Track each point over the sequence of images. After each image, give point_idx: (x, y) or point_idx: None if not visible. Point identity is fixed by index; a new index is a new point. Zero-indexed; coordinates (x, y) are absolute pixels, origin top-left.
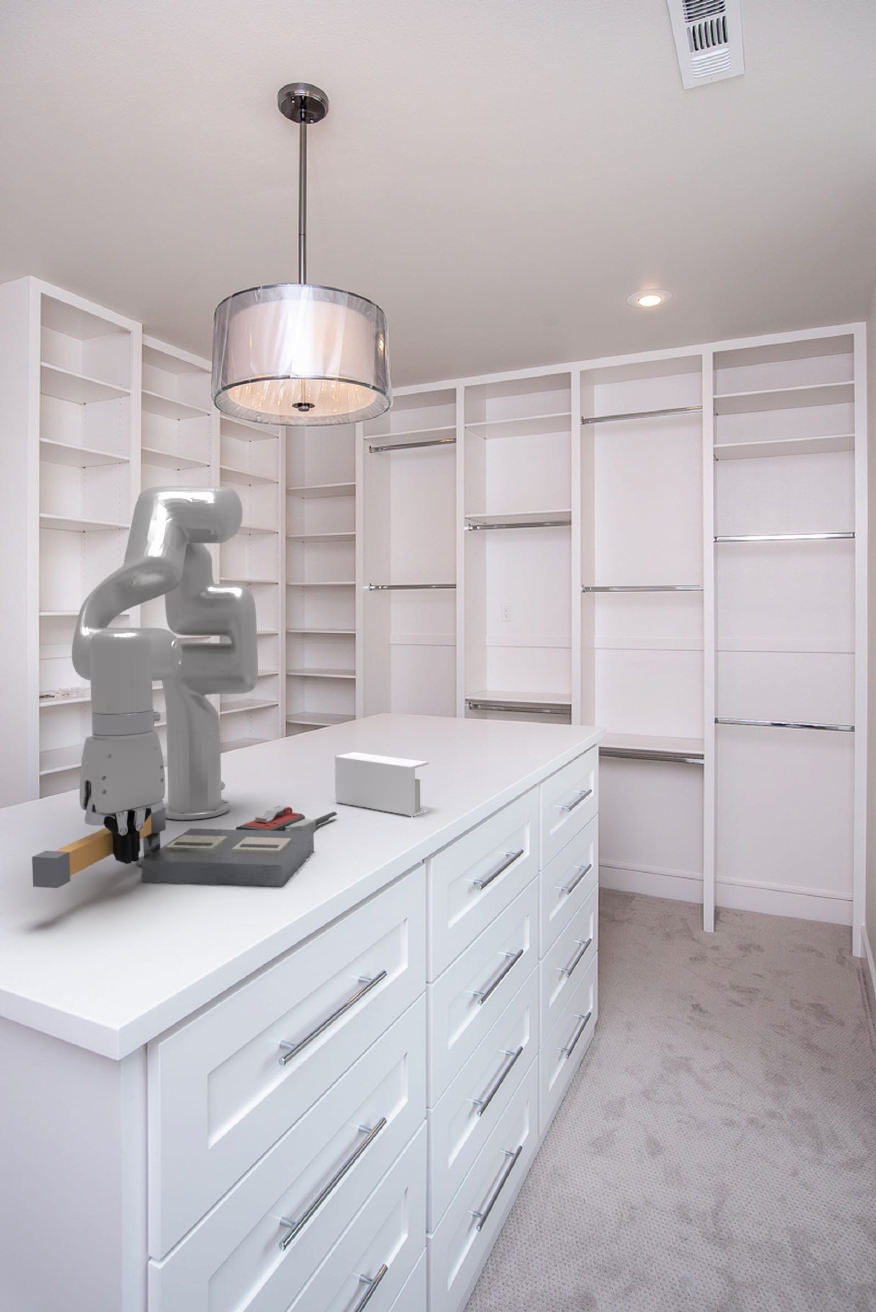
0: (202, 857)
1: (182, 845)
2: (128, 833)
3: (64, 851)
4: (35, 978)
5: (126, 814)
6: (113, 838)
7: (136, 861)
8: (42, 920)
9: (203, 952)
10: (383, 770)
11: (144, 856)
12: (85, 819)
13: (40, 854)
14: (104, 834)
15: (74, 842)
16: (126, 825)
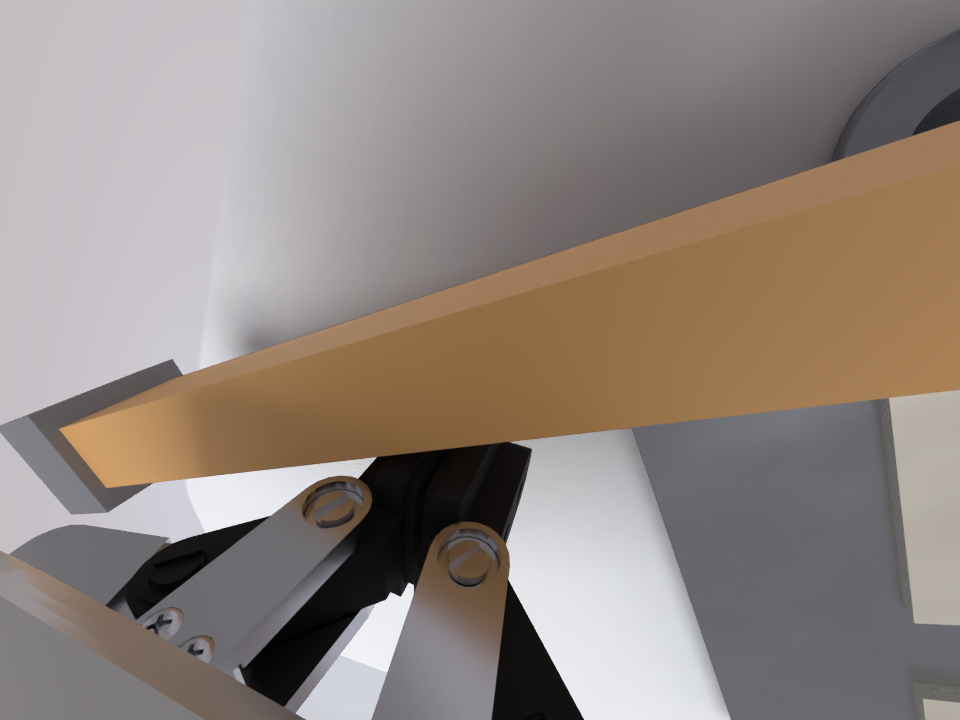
0: (768, 601)
1: (957, 467)
2: (396, 583)
3: (105, 463)
4: (209, 493)
5: (399, 649)
6: (368, 474)
7: (889, 81)
8: (268, 319)
9: (390, 646)
10: None
11: (935, 127)
12: (18, 558)
13: (18, 433)
14: (308, 455)
15: (148, 407)
16: (346, 640)
